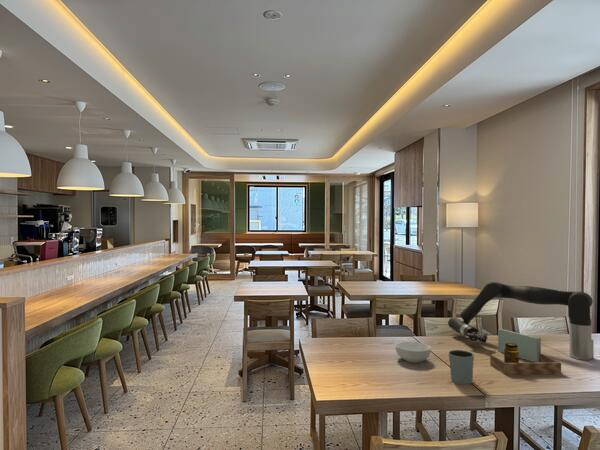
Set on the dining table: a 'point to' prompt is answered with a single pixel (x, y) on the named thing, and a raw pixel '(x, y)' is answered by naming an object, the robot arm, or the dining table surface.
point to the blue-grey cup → (461, 366)
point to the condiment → (511, 353)
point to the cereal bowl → (413, 351)
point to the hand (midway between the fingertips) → (484, 340)
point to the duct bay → (527, 366)
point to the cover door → (521, 344)
